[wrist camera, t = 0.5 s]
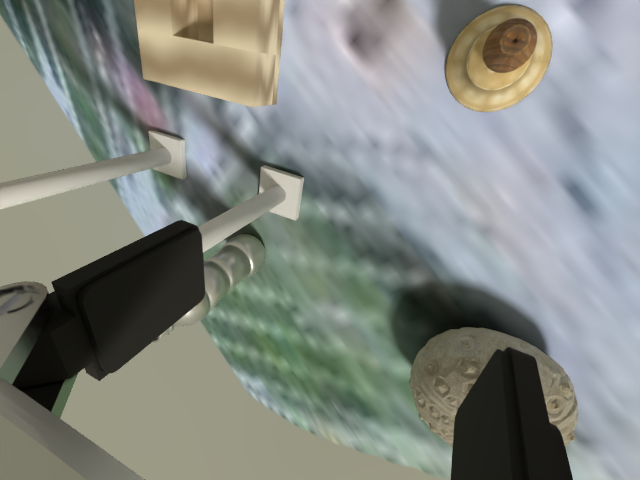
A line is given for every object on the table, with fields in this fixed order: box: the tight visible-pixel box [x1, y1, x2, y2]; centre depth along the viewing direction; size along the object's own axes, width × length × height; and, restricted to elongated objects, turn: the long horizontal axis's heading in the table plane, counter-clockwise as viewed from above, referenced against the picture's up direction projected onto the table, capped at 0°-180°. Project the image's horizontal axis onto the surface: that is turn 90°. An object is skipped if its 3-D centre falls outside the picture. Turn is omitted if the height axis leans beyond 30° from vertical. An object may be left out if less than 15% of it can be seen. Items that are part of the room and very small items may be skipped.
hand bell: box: [446, 5, 552, 112], centre depth 22 cm, size 8×8×16 cm
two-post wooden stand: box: [0, 130, 304, 252], centre depth 29 cm, size 14×26×36 cm, turn 80°
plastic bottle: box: [153, 234, 266, 342], centre depth 42 cm, size 6×7×20 cm
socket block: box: [134, 0, 285, 107], centre depth 34 cm, size 16×16×5 cm
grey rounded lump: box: [409, 327, 578, 446], centre depth 38 cm, size 18×18×10 cm
